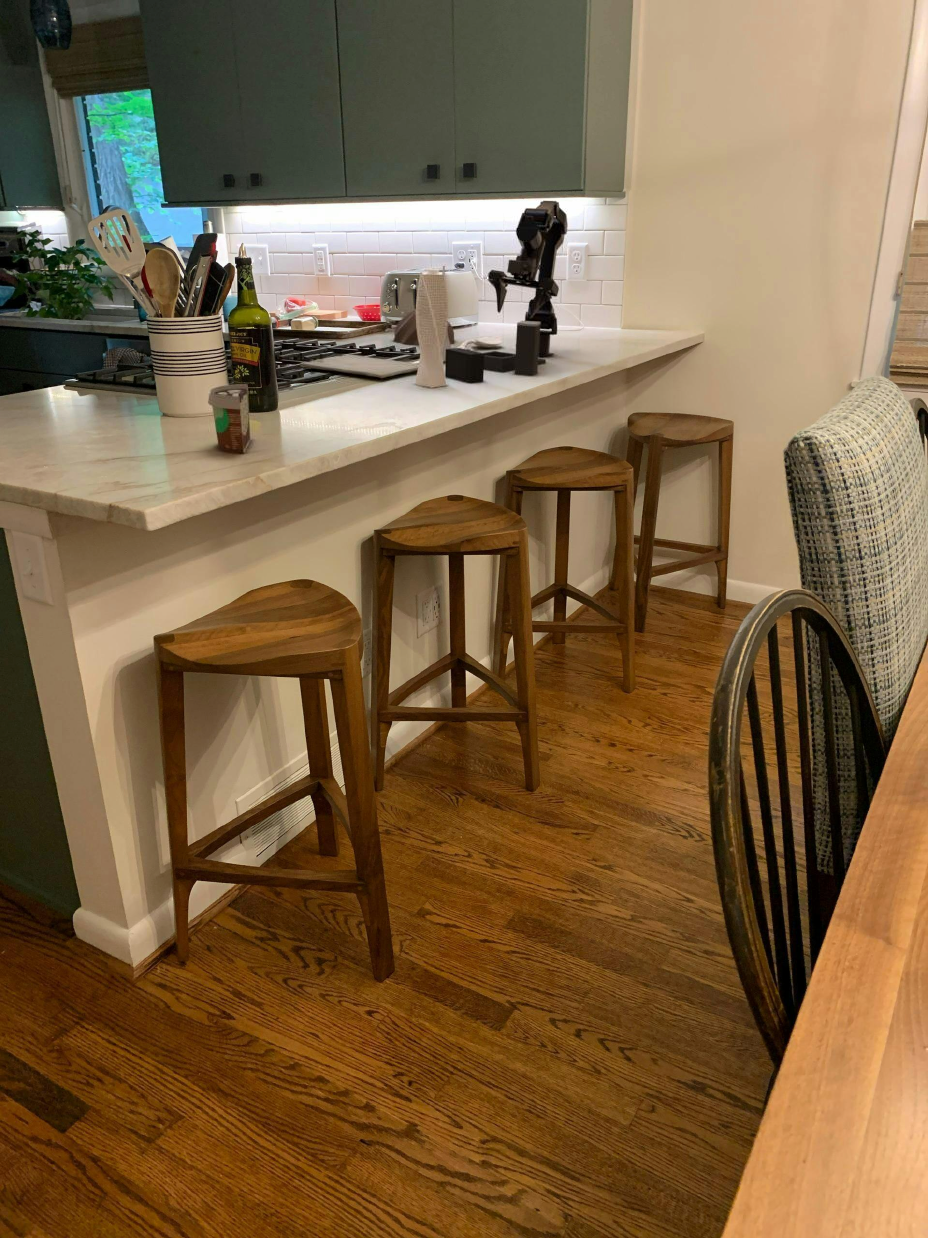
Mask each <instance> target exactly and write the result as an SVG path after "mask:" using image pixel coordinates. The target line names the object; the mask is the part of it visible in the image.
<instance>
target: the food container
mask: <svg viewBox="0 0 928 1238" xmlns="http://www.w3.org/2000/svg"><path fill="white" fill-rule="evenodd" d="M207 404H208V405H210V406H211V407H212V413H213V419H214V427H215V434H216V441H217V446H218V449H219V450H220V451H222V452H227V453H233V454H245V452H246V450H247V449H248V446H249V445H250V442H251V426H250V406H249V386H248V383H240V384H225V385H220V386H215V387H213V388H211V389H210V392H209V394H208V400H207Z"/></svg>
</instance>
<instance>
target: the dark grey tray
mask: <svg viewBox="0 0 928 1238" xmlns="http://www.w3.org/2000/svg"><path fill="white" fill-rule="evenodd" d="M483 353H484V371H490V372H496V373H505V372H511V371H515V354H516V353H512V352H504V351H496V350H491V351H485V352H483ZM546 362H547V359H545V358H540V357H538V366H540V365H543V364H546Z"/></svg>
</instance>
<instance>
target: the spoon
mask: <svg viewBox="0 0 928 1238" xmlns="http://www.w3.org/2000/svg"><path fill="white" fill-rule="evenodd" d="M503 343H504V339H503V338H501V337H499V336H486V337H481V338H478V339H476V338H472V339H467V340H465V341H464V342H463V343H461V344H460V345H459V346H458V347H457V348H462V349H466V347H467V346H468V345H473V344H474V345H475V346H477V347H481V348H485V349H486V348H494V347H498V346H500V345H502V344H503Z"/></svg>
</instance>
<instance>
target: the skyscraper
mask: <svg viewBox="0 0 928 1238" xmlns="http://www.w3.org/2000/svg"><path fill="white" fill-rule="evenodd" d="M448 299H449V298H448V289H447V281H446V264H445V263H444V262H443V263H442V272H440V269H436V268H426V272H423V269H420V270H419V278H418V285H417V292H416V299H415V310H416V327H417V335H418V342H419V345H418V346H419V351H420V354H419V360H418V364H419V366H418V370H416V371H417V372H416V378H415V385H416V386H421V387H426V388H431V389H432V388H438V387H444V386H445V387H446V386H447V379H446V377H445V366H444V362H443V359H442V353H441V351H442V348H443V344H444V339H445V334H446V329H447V321H449V320H448V319H449V318H448V317H449V301H448Z"/></svg>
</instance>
